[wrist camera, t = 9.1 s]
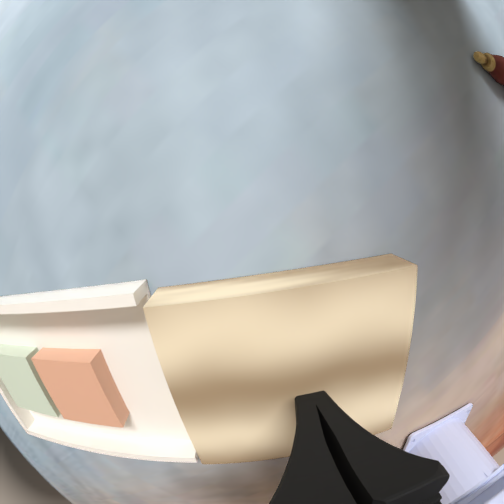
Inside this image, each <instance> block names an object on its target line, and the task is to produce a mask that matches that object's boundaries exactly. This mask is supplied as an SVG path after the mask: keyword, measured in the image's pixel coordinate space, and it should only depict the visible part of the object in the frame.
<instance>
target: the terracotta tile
mask: <svg viewBox="0 0 504 504" xmlns="http://www.w3.org/2000/svg"><path fill="white" fill-rule="evenodd" d="M31 360H32V362H33V364H34V366H35V368H36V370H37V372H38V374H39V376H40V378H41V380H42V382H43V384H44V386H45V387H46V389H47V391H48V393H49V395H50V396H51V398H52V400H53V402H54V403H55V405H56V407H57V408H58V410H59V412H60V413H61V415H62V416H63V418H64V419H68V420H73V421H78V422H84V423H90V424H96V425H103V426H111V427H120V428H123V427H124V425H125V422H126V420H127V418H128V415H129V413H130V412H129V410H128V408H127V406H126V404H125V402H124V400H123V398H122V396H121V394H120V392H119V390H118V388H117V386H116V384H115V381H114V379H113V377H112V375H111V372H110V370H109V368H108V365H107V363H106V361H105V358H104V356H103V353H102V351H101V349H68V348H44V347H43V348H42V349H40V350H39V351H38V352H37V353H36V354H35V355H34V356H33V357H32V358H31Z"/></svg>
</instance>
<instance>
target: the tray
mask: <svg viewBox="0 0 504 504" xmlns="http://www.w3.org/2000/svg"><path fill="white" fill-rule="evenodd" d="M150 298H151V295H150V291H149V287H148V282H147V279H145V280H137V281H129V282H121V283H112V284H104V285H96V286H87V287H79V288H70V289H61V290H52V291H43V292H34V293H25V294H15V295H6V296H0V344H8V345H19V346H32V347H37V348H38V350H40V349H42V348H43V347H44V348H68V349H101V351H102V353H103V356H104V358H105V361H106V363H107V365H108V368H109V370H110V372H111V375H112V377H113V379H114V381H115V384H116V386H117V388H118V390H119V392H120V394H121V396H122V398H123V400H124V402H125V404H126V406H127V408H128V410H129V412H130V413H129V415H128V418H127V420H126V422H125V425H124V427H123V428H120V427H111V426H103V425H96V424H90V423H84V422H78V421H73V420H68V419H64V418H63V416H62V415H61V414H60V415H59V417H54V416H50V415H46V414H42V413H38V412H35V411H31V410H27V409H24V408H21V407H18V406H17V405H16V403H15V401H14V400H13V398H12V396H11V395H10V393H9V391H8V390H7V388H6V386H5V384H4V382H3V380H2V379H1V377H0V393H1V395H2V396H3V398H4V400H5V401H6V403H7V404H8V406H9V408H10V409H11V411H12V412H13V414H14V415H15V417H16V418H17V420H18V421H19V423H20V424H21V426H22V427H23V428H24V430H25V431H26V433H27V434H30V435H33V436H36V437H39V438H42V439H45V440H48V441H51V442H55V443H58V444H62V445H65V446H69V447H73V448H77V449H81V450H86V451H90V452H95V453H100V454H106V455H111V456H118V457H125V458H132V459H141V460H151V461H165V462H197V461H198V454H197V452H196V450H195V448H194V446H193V444H192V442H191V440H190V437H189V435H188V433H187V431H186V429H185V426H184V424H183V422H182V419H181V417H180V415H179V412H178V410H177V407H176V405H175V403H174V400H173V398H172V395H171V392H170V390H169V387H168V385H167V382H166V379H165V376H164V374H163V371H162V368H161V365H160V362H159V359H158V356H157V353H156V350H155V347H154V344H153V341H152V338H151V334H150V331H149V328H148V324H147V321H146V317H145V314H144V310H143V307H144V305H145V304H146V303H147V301H148V300H149V299H150Z"/></svg>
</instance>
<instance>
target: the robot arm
mask: <svg viewBox="0 0 504 504" xmlns="http://www.w3.org/2000/svg"><path fill="white" fill-rule="evenodd" d="M472 406H473V405H472V404H471V403H469V404H467V405H465V406H464V407H462V408H460V409H459V410H457V411H455V412H453V413H451V414H450V415H448V416H446V417H444V418H442V419H440V420H438V421H436V422H434V423H432V424H430V425H428V426H426V427H424V428H422V429H420V430H418V431H416V432H413V433H412V434H410V435H409V437H408V439H407V441H406V444H405V446H404V449H403V450H401V449H399V448H397V447H394V446H392V445H390V444H388V443H386V442H385V441H383V440H381V439H379V438H378V437H376V436H374V435H373V434H371V433H370V432H368V431H367V430H366V429H364V428H363V427H362V426H360V425H359V424H358V423H357V422H355V421H354V420H353V419H352V418H351V417H350V416H349V415H347V414H346V413H345V412H344V411H343V410H342V409H341V408H340V407H339V406H338V405H337V404H336V403H335V402H334V401H333V400H332V398H331V397H330V396H329V395H328V394H327V393H326V392H325V391H324V390H323V391H319V392H314V393H309V394H304V395H299V396H296V397H295V412H296V430H295V436H294V441H293V446H292V450H291V454H290V458H289V461H288V464H287V467H286V469H285V472H284V475H283V477H282V479H281V482H280V484H279V486H278V488H277V490H276V492H275V494H274V496H273V498H272V499H271V501H270V503H269V504H504V464H503V465H501V466H499V465H498V464H497V463H496V461H495V460H494V459H493V458H492V456H491V455H490V454H489V453H488V451H487V450H486V449H485V448H484V447H483V445H482V444H481V443H480V442H479V441H478V439H477V438H476V437H475V436H474V435H473V434H472V432H471V431H470V430H469V429H468V428H467V427H466V425H465V424H464V423H465V421H466V419H467V417H468V415H469V413H470V411H471V409H472Z"/></svg>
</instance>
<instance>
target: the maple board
mask: <svg viewBox="0 0 504 504" xmlns="http://www.w3.org/2000/svg"><path fill="white" fill-rule="evenodd" d="M416 286H417V265H416V264H413V263H411V262H409V261H407V260H404V259H402V258H400V257H398V256H395V255H393V254H386V255H380V256H375V257H369V258H363V259H357V260H351V261H345V262H338V263H332V264H326V265H320V266H313V267H307V268H300V269H294V270H287V271H280V272H273V273H266V274H259V275H252V276H245V277H238V278H231V279H223V280H216V281H208V282H201V283H193V284H185V285H177V286H169V287H160V288H158V289H157V290H156V291H155V292H154V294H153V295H152V296H151V298H150V299H149V300H148V301H147V303H146V304H145V305H144V307H143V310H144V314H145V317H146V321H147V324H148V328H149V331H150V334H151V338H152V341H153V344H154V347H155V350H156V353H157V356H158V359H159V362H160V365H161V368H162V371H163V374H164V376H165V379H166V382H167V385H168V387H169V390H170V392H171V395H172V398H173V400H174V403H175V405H176V407H177V410H178V412H179V415H180V417H181V419H182V422H183V424H184V426H185V429H186V431H187V433H188V435H189V437H190V440H191V442H192V444H193V446H194V448H195V450H196V452H197V454H198V456H199V458H200V460H201V462H202V464H225V463H241V462H252V461H261V460H269V459H276V458H283V457H289V456H290V454H291V450H292V446H293V441H294V436H295V430H296V412H295V397H296V396H299V395H304V394H309V393H314V392H319V391H323V390H324V391H325V392H326V393H327V394H328V395H329V396H330V397H331V398H332V400H333V401H334V402H335V403H336V404H337V405H338V406H339V407H340V408H341V409H342V410H343V411H344V412H345V413H346V414H347V415H349V416H350V417H351V418H352V419H353V420H354V421H355V422H357V423H358V424H359V425H360V426H362V427H363V428H364V429H366V430H367V431H368V432H370V433H371V434H373V435H375V434H378V433H381V432H384V431H386V430H389V429H391V428H392V424H393V421H394V417H395V414H396V410H397V406H398V402H399V398H400V394H401V390H402V385H403V381H404V376H405V371H406V366H407V361H408V355H409V349H410V343H411V336H412V328H413V320H414V311H415V300H416Z"/></svg>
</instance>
